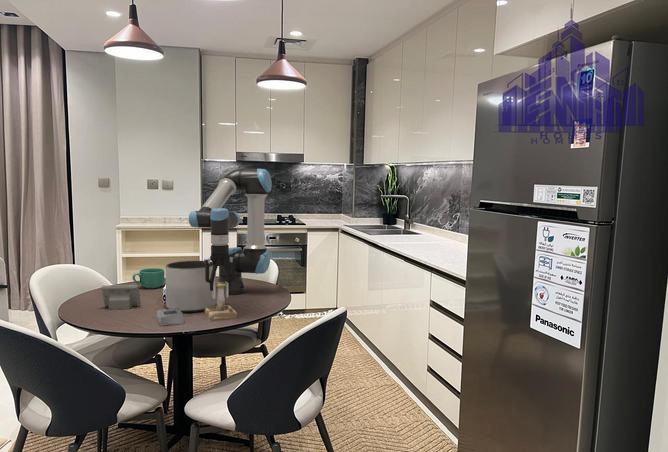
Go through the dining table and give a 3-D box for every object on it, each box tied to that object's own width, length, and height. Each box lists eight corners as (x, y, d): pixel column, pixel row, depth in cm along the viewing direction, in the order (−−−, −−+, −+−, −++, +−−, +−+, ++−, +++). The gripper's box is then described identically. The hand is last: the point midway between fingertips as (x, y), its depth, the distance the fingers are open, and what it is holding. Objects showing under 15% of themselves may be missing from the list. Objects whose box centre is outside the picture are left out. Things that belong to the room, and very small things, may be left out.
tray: (204, 312, 215) (204, 307, 215) (229, 309, 220) (229, 304, 220) (211, 320, 203) (211, 315, 203) (237, 317, 208) (237, 312, 208)
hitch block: (157, 318, 206) (157, 310, 205) (179, 315, 210) (179, 307, 209) (160, 326, 195) (160, 317, 195) (183, 323, 199) (183, 315, 199)
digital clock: (142, 305, 226) (142, 283, 225) (133, 310, 217) (133, 287, 216) (109, 304, 227) (108, 282, 226) (98, 309, 218) (97, 286, 217)
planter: (217, 300, 238) (216, 259, 236) (216, 312, 216) (215, 268, 214) (169, 302, 233) (168, 260, 231) (162, 314, 211) (161, 269, 209)
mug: (161, 283, 273) (160, 267, 272) (167, 288, 263) (167, 270, 262) (129, 287, 263) (129, 270, 263) (135, 291, 253) (134, 273, 252)
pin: (213, 309, 212) (213, 282, 211) (224, 308, 215) (224, 281, 213) (216, 312, 208) (215, 284, 207) (227, 311, 210) (227, 283, 209)
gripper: (200, 246, 201) (201, 301, 203) (242, 244, 209) (242, 297, 211) (196, 244, 208) (197, 297, 210) (238, 242, 216) (238, 293, 218)
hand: (220, 297), depth 211 cm, fingers closed on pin, 5 cm apart
